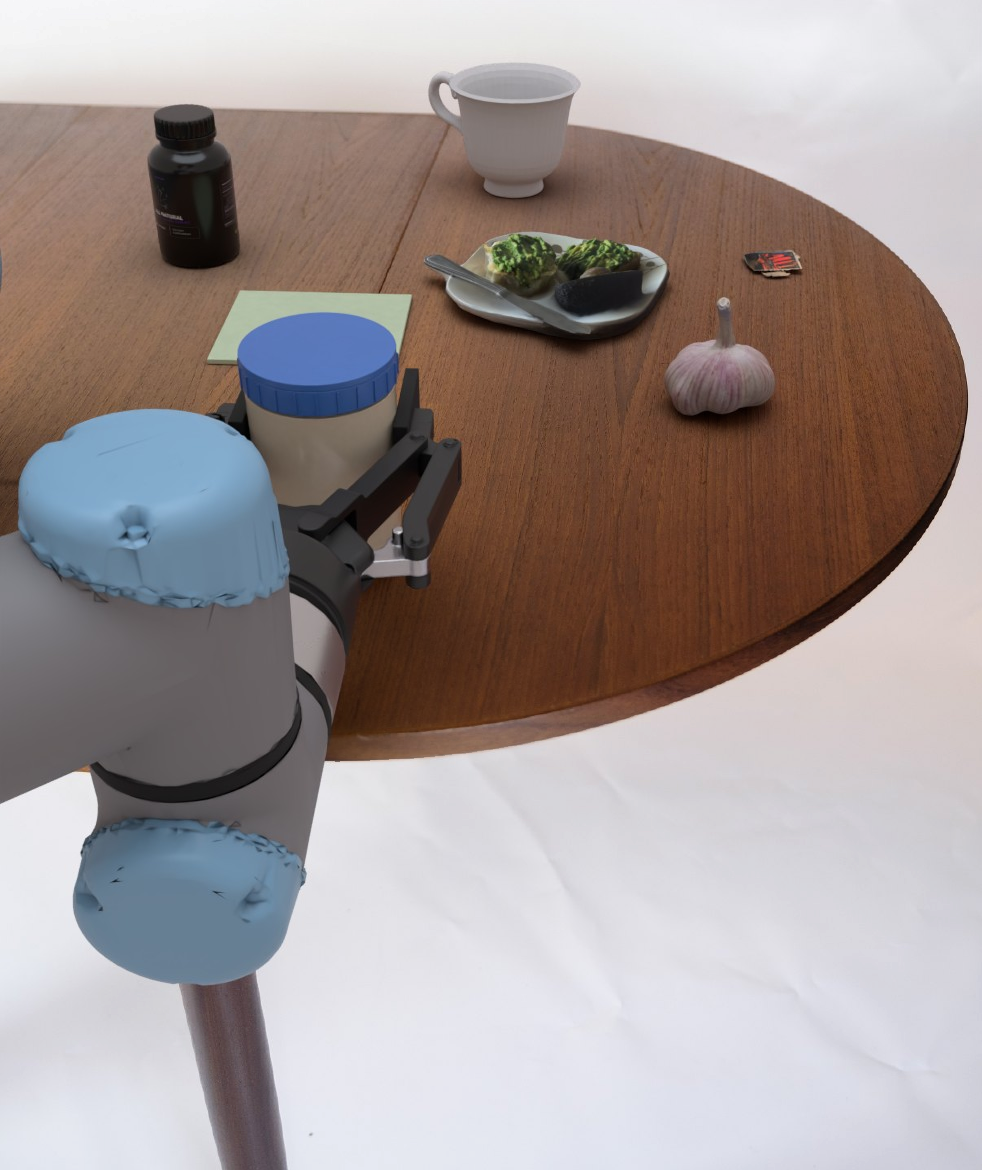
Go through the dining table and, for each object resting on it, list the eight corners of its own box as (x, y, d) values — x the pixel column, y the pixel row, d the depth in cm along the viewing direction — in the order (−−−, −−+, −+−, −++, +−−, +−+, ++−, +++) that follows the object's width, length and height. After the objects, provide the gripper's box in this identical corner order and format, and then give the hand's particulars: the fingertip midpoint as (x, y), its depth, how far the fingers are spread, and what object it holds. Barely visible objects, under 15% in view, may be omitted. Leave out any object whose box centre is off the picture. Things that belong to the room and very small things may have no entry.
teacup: (459, 155, 131) (458, 52, 125) (595, 177, 125) (600, 72, 119) (402, 193, 122) (398, 85, 116) (544, 219, 117) (548, 107, 111)
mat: (207, 364, 94) (206, 359, 94) (240, 294, 104) (239, 290, 104) (396, 369, 94) (396, 364, 94) (412, 299, 103) (412, 294, 103)
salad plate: (382, 318, 100) (379, 262, 98) (471, 236, 114) (471, 185, 111) (617, 363, 95) (622, 305, 92) (683, 271, 108) (688, 218, 105)
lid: (225, 414, 64) (220, 383, 63) (256, 339, 71) (253, 309, 70) (389, 419, 64) (387, 388, 63) (405, 343, 71) (404, 313, 69)
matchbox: (736, 257, 110) (737, 252, 109) (791, 251, 111) (791, 246, 111) (760, 279, 106) (761, 274, 106) (816, 273, 107) (817, 267, 107)
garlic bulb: (658, 425, 87) (668, 317, 83) (666, 375, 93) (676, 271, 88) (770, 436, 86) (788, 327, 82) (771, 384, 92) (788, 280, 87)
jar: (248, 560, 70) (225, 390, 64) (274, 480, 76) (256, 319, 70) (393, 565, 70) (385, 395, 63) (408, 484, 76) (402, 323, 70)
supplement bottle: (154, 270, 108) (131, 126, 100) (168, 238, 113) (146, 99, 106) (236, 269, 108) (219, 125, 100) (246, 238, 113) (230, 99, 106)
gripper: (40, 698, 58) (165, 437, 76) (501, 716, 57) (517, 449, 75) (3, 565, 53) (145, 321, 71) (503, 583, 53) (520, 332, 71)
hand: (336, 387), depth 73 cm, fingers closed on jar, 8 cm apart
